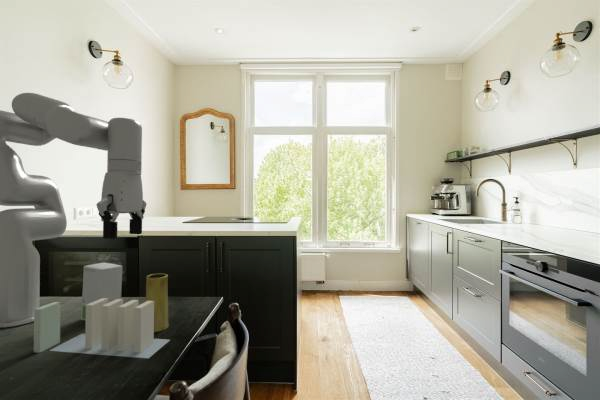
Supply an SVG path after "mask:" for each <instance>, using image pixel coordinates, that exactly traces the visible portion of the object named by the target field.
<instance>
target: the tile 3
mask: <svg viewBox="0 0 600 400" xmlns="http://www.w3.org/2000/svg"><path fill="white" fill-rule="evenodd" d="M123 304H124V299H123V298H121V299H116V300H114V301H112V302H109V303H107V304H105V305H103V306H102V330H101V350H109V349H110V348H112V347H113V346H115V345H117V344H118V307H119V306H121V305H123Z"/></svg>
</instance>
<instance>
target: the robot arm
mask: <svg viewBox="0 0 600 400" xmlns="http://www.w3.org/2000/svg"><path fill="white" fill-rule="evenodd" d="M11 108H12V111H13V112H14V113H13V112H9V111H6V110H0V206H4V207H21V208H8V209H4V210H1V211H0V329H2V328H12V327H16V326H22V325H26V324H29V323H34V309H36V308H39V307H40V286H41V285H40V284H41V282H40V280H41V279H40V278H41V277H40V275H41V272H40V271H41V268H40V267H41V266H40V265H41V257H40V253H39V251H38V250H37V248H36V246H34V244H33V243H32V241H34V242H35V241H40V240H41V241H43V240H49V239H56V238H58V237H61V236H62V235H63V234H64V233H65V231H66V230H67V226H68V225H67V223H68V222H67V216H66V213H65V209H64V205H63V201H62V197H61V194H60V191H59V187H58V186H57V184H56V183H55V181H54V180H53V179H51V178H49V177H48V176H44V175H36V174H28V173H27V172H26V171H25V169H24V166H23V162H22V161H23V160H22V159H21V156H19V155H18V154H17V152H16V150H14V149H13V148H12V147H11V146H10V145H8V144H7V143H6V142H8V143H9V142H10V143H15V144H20V145H21V144H22V145H28V146H34V147H39V146H45V145H47V144H49V143H50V142H52V141H54V140H55V139H58V140H61V141H63V142H66V143H68V144H71V145H74V146H79V147H83V148H85V147H86V148H91V149H95V150H101V151H105V152H107V158H106V159H107V160H106V161H107V168H106V170H107V171H106V172H105V174H104V178H103V183H102V188H101V198H100V199H101V200H100V201H99V202H97V203H96V208H97V211H98V215H99V217H100V218H101V219H100V220H101V222H102V226H103V227H102V228H103V229H102V238H103V239H104V240H105V239H106V240H107V239H109V240H111V239H113V240H116V239H117V238H118V221H116V220H117V219H118V217H119V215H120V214H129V216H130V219H129V229H128V230H129V233H128V234H130V235H142V234H143V219H144V214H145V211H146V207H147V202H146V201H145V200H144V199H143V198H144V197H143V196H144V195H143V194H144V193H143V181H142V159H143V158H142V151H143V150H142V148H143V147H142V146H143V143H142V142H143V126H142V124H141V123H140V122H139V121H137V120H135V119H134V118H133V119H132V118H128V117H127V118H126V117H113V118H110V120H109V121H107V120H103V119H100V118H96V117H93V116H89V115H85V114H83V113H79V112H77V111H76V109H74V108H73V107H72V106H71V105H70V104H68V103H66V102H65V101H61V100H58V99H54V98H52V97H48V96H44V95H43V94H39V93H35V92H22V93H19V94H17V95H16V96H15V97H14V98H13V99H12V101H11ZM22 207H26V208H22ZM27 207H28V208H27ZM30 207H31V208H30Z"/></svg>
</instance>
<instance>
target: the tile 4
mask: <svg viewBox="0 0 600 400" xmlns="http://www.w3.org/2000/svg"><path fill="white" fill-rule="evenodd" d="M139 301H140V300H139V299H131V300H129V301H128V302H125V303H123V305H121V306H119V307H118V347H117V351H125V350H127V349H128V348H130V347H131V346H132V345H134V308H135V307H137V306H139V305H140V304H139Z"/></svg>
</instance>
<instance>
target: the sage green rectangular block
mask: <svg viewBox="0 0 600 400" xmlns="http://www.w3.org/2000/svg"><path fill="white" fill-rule="evenodd" d="M61 307H62V305H61V301H54V302H50V303H48V304H44V305H41V306H39V308H36V309H34V321H33V353H39V354H40V353H42V352H44V351H46V350H47V349H51V348H53V346H56V345H59V344H60V343H61Z"/></svg>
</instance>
